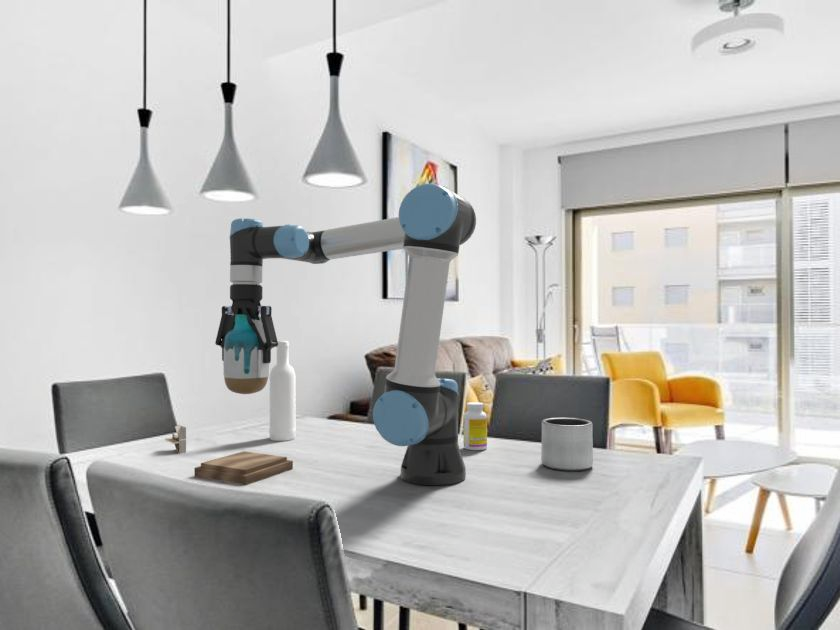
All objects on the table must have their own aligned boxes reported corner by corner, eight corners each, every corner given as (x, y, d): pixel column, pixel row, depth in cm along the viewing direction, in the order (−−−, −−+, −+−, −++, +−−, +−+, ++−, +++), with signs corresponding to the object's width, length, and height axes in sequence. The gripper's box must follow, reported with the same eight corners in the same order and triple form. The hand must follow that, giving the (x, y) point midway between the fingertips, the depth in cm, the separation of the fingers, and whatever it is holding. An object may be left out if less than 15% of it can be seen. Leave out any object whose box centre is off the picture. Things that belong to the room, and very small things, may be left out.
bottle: (287, 441, 180) (287, 341, 180) (264, 440, 182) (264, 341, 182) (300, 436, 188) (300, 340, 188) (277, 435, 190) (277, 340, 190)
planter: (570, 458, 159) (570, 415, 159) (604, 468, 148) (603, 423, 148) (531, 463, 153) (531, 419, 154) (563, 474, 142) (562, 427, 142)
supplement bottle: (491, 449, 170) (491, 403, 170) (473, 452, 166) (473, 405, 166) (476, 445, 175) (476, 401, 175) (458, 447, 171) (458, 402, 171)
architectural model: (173, 456, 164) (173, 428, 164) (164, 451, 169) (164, 425, 169) (186, 454, 166) (186, 427, 166) (177, 450, 171) (177, 424, 171)
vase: (255, 397, 138) (255, 314, 138) (214, 395, 141) (214, 314, 141) (276, 392, 149) (277, 314, 149) (238, 390, 151) (238, 314, 151)
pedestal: (292, 468, 148) (292, 456, 148) (245, 485, 133) (245, 471, 133) (243, 461, 155) (243, 450, 155) (194, 476, 141) (194, 463, 141)
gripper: (294, 283, 143) (293, 377, 142) (223, 285, 153) (222, 372, 153) (272, 282, 136) (271, 380, 136) (199, 284, 147) (199, 375, 147)
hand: (245, 376), depth 145 cm, fingers closed on vase, 10 cm apart
